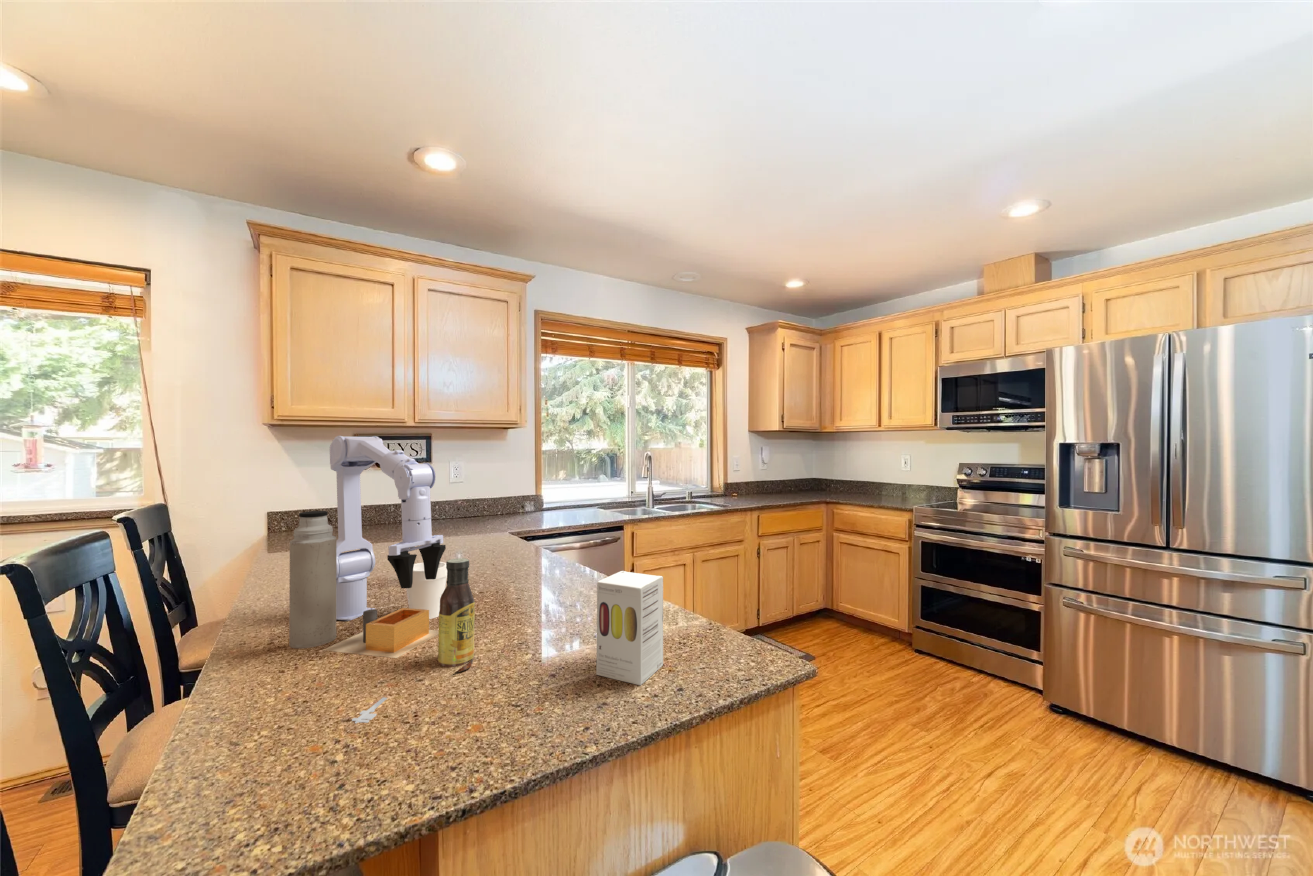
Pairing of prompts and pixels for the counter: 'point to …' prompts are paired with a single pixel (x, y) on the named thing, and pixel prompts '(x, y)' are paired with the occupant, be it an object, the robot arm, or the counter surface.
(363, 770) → the counter surface
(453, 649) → the sauce bottle
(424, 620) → the orange wooden hollow box
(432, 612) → the foam cup
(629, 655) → the supplement box
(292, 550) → the thermos bottle
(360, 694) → the counter surface
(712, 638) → the counter surface
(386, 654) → the board
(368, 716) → the key
